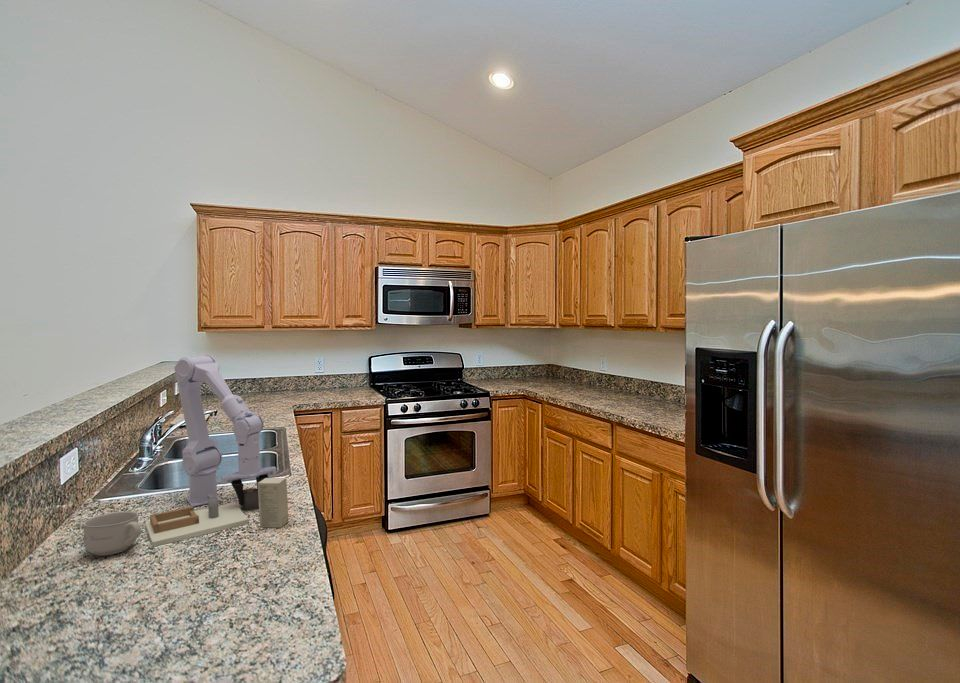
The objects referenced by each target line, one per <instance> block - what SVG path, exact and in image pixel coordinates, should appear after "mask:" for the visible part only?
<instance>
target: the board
mask: <svg viewBox="0 0 960 683" xmlns="http://www.w3.org/2000/svg"><path fill="white" fill-rule="evenodd" d="M207 498H208V504H207V506H208V507H207V508H202V509H199V510H194V507H193V506H187V507H183V508H179V509H173V510H168V511H164V512H158V513H153V514H150V515H149V520H147V521H145V522H144V523H145V524H144V526H145V529H146V532H147V535H148V538H149V541H150V544H151V547H152V548H154V547H159V546H163V545H166V544H167V545H168V544H170V543H176V542H179V541H183V540H187V539H191V538H196V537H199V536H204V535H207V534H212V533H216V532H220V531H224V530H228V529H233V528H236V527H241V526H244V525H248V524H250V519H249V517H248V516H247V515H246V514H245V512H244V511H243V510H242V509H241V508H240V507H239V506H238V505H237V504H236V503H235V502H230V503H226V504H221V505H219V501H218V497H214V496H213V495H212V494H207Z"/></svg>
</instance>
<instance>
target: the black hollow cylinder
mask: <svg viewBox="0 0 960 683" xmlns="http://www.w3.org/2000/svg"><path fill="white" fill-rule="evenodd" d="M243 502H244V503H243V506H241V507H242V508H241V510H242V511H253V510H256V509H259V499H258V489H257V487H256V488H255V487H251V488H246V489H243Z"/></svg>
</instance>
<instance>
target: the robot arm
mask: <svg viewBox="0 0 960 683" xmlns="http://www.w3.org/2000/svg"><path fill="white" fill-rule="evenodd" d="M173 369H174V372H175V378H176V382H177V390H178V394H179V399H180V403H181V404H180V405H181V409H182V413H183V418H184V424H185V428H186V433H187V438H188V444H187V445H186V446H185V448H184V449H183V450H182V451H181V452H182V462H181V463H182V469H183V471H184V472H185V473H186V475H187V476H189V478H188V482H189V483H188V484H189V486H188V487H189V496H186V497H185V499H186V501H187V503H188V504H189V507H191V506H193V508H195V507H198V506H203V505H208V498H207V494H212V495H213V496H214V497H218V502H221V501H222V499H221V498H220V496H219V495H218V481H217V477H218V476H217V470H218V469H219V466H220V465H221V464H222V462H223V455H222V451H221V450H220V448H219V446H218V442H217V441H215V440H214V439H212V438H210V435H209V431H208V430H209V429H208V425H207V420H206V415H205V411H204V405H203V401H202V396H201V392H200V388H201V386H202V385H203V384H204V383H206V385H207V386H208V387H209V388H210V389H211V390H212V392H213V393H214V394H215V395H216V396H217V397H218V398H219V399H220V401H221V406H220V407H221V409H222V411H223V412H224V413H225V415H226V416H227V418H229V420H230V422H231V423H232V424H233V426H232V427H231V428H232V432H233V434H234V436H235V441H236V443H237V454H238V455H237V456H238V457H237V458H238V460H237V461H238V463H237V465H238V471H236V472H232V473H229V474H226V475H221V483H222V485H226V484H228V483H230V484H231V486H232V488H233V489H234V492H235V494H236V496H237V500H238V504H239V506H241V507H242V506H243V503H244V502H243V490H244V483H243V481H245V480H249V479H254V478H255V480H256V488H257V489H258V482H260V481H261V480H263V479H265V478H270V477H269V475H274V476H275V475H276V474H277V467H276V466H267V467H261V457H260V456H261V454H260V452H261V451H260V448H261V447H260V445H261V444H260V433H261V432H262V431H263V430H264V420H263V418H262V416H261V415H259V414H258V413H254V412H253V411H251V409H250V408H249V407H248V406H247V404H246V403H245V401H244V399H243V397H241V396H240V395H236V394H233V393H232V390H231V389H230V387H229V385H228V384H227V382H226V381H225V380H224V378H223V376H222V375H221V373H220V364H219V363H218V362H217V360H216V358H215V357H213V356H212V355H209V354H208V355H202V356H194V357H193V356H191V357H186V356H185V357H181V358H179V360H177V362H176V364H175V366H174V368H173Z"/></svg>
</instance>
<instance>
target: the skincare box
mask: <svg viewBox="0 0 960 683" xmlns="http://www.w3.org/2000/svg"><path fill="white" fill-rule="evenodd" d="M258 499H259V507H258V512H259V515H258V517H259V527H260V528H275V529H276V528H282V527H283V526H285V525H286V524H287V523H288V522H289V506H288V505H289V504H288V485H287V478H286V477H269V478H265V479H263V480H261V481H260V482H258Z"/></svg>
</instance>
